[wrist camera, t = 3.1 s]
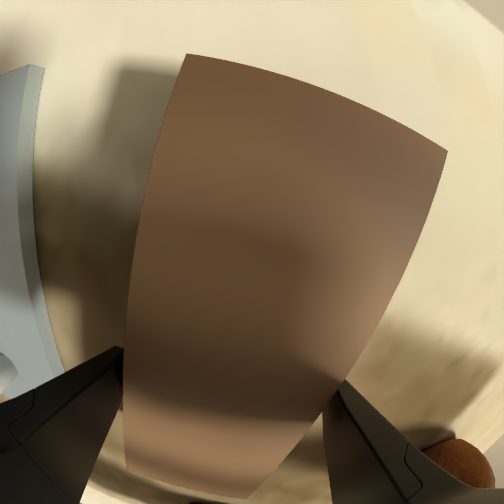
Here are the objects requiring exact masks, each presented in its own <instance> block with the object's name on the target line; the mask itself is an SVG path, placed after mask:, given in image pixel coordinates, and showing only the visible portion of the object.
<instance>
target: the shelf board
mask: <svg viewBox="0 0 504 504" xmlns="http://www.w3.org/2000/svg"><path fill="white" fill-rule="evenodd" d="M447 153H448V151H447V150H446V149H444V148H442V147H441V146H439V145H438V144H436V143H434V142H433V141H431V140H429V139H428V138H426V137H424V136H422V135H421V134H419V133H417V132H415V131H414V130H412V129H410V128H408V127H406V126H405V125H403V124H401V123H399V122H397V121H395V120H393V119H391V118H389V117H387V116H385V115H383V114H381V113H379V112H377V111H375V110H373V109H370V108H368V107H366V106H364V105H362V104H359V103H357V102H355V101H352V100H350V99H348V98H345V97H343V96H341V95H338V94H336V93H333V92H330V91H328V90H325V89H323V88H320V87H317V86H314V85H311V84H309V83H306V82H303V81H300V80H297V79H294V78H291V77H287V76H284V75H281V74H278V73H274V72H271V71H267V70H263V69H260V68H256V67H252V66H248V65H244V64H240V63H235V62H231V61H226V60H221V59H216V58H211V57H205V56H200V55H193V54H186V56H185V59H184V61H183V64H182V67H181V69H180V72H179V75H178V78H177V81H176V83H175V86H174V89H173V92H172V95H171V98H170V101H169V104H168V108H167V111H166V114H165V117H164V121H163V124H162V127H161V131H160V134H159V138H158V142H157V145H156V149H155V153H154V157H153V161H152V165H151V169H150V173H149V177H148V181H147V186H146V190H145V195H144V200H143V205H142V210H141V215H140V220H139V225H138V231H137V237H136V243H135V249H134V256H133V262H132V270H131V277H130V285H129V294H128V304H127V314H126V326H125V341H124V361H123V427H124V446H125V459H126V469H127V470H130V471H132V472H135V473H138V474H141V475H144V476H147V477H150V478H153V479H156V480H159V481H162V482H166V483H169V484H173V485H176V486H180V487H184V488H188V489H192V490H196V491H201V492H206V493H210V494H216V495H221V496H227V497H233V498H240V499H247V498H248V497H249V496H250V495H251V494H252V493H253V492H254V491H255V490H256V489H257V488H258V487H259V486H260V485H261V484H262V483H263V482H264V481H265V480H266V479H267V477H268V476H269V475H270V474H271V473H272V472H273V471H274V470H275V469H276V468H277V467H278V465H279V464H280V463H281V462H282V461H283V460H284V459H285V457H286V456H287V455H288V454H289V453H290V452H291V450H292V449H293V448H294V447H295V446H296V444H297V443H298V442H299V441H300V440H301V438H302V437H303V436H304V435H305V433H306V432H307V431H308V429H309V428H310V427H311V426H312V424H313V423H314V422H315V420H316V419H317V418H318V416H319V415H320V414H321V412H322V411H323V410H324V408H325V407H326V405H327V404H328V403H329V401H330V400H331V398H332V397H333V396H334V394H335V392H336V391H337V390H338V388H339V387H340V385H341V384H342V382H343V381H344V379H345V378H346V376H347V375H348V373H349V372H350V370H351V369H352V367H353V365H354V364H355V362H356V361H357V359H358V357H359V356H360V354H361V352H362V351H363V349H364V347H365V346H366V344H367V342H368V341H369V339H370V337H371V335H372V334H373V332H374V330H375V328H376V327H377V325H378V323H379V321H380V319H381V317H382V316H383V314H384V312H385V310H386V308H387V306H388V304H389V302H390V300H391V298H392V296H393V294H394V292H395V290H396V288H397V286H398V284H399V282H400V280H401V278H402V276H403V273H404V271H405V269H406V267H407V265H408V262H409V260H410V258H411V256H412V253H413V251H414V249H415V246H416V244H417V241H418V239H419V236H420V234H421V231H422V229H423V226H424V224H425V221H426V218H427V216H428V213H429V210H430V207H431V205H432V202H433V199H434V196H435V193H436V190H437V187H438V184H439V180H440V177H441V174H442V171H443V167H444V164H445V160H446V156H447Z"/></svg>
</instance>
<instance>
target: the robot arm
mask: <svg viewBox="0 0 504 504" xmlns="http://www.w3.org/2000/svg"><path fill="white" fill-rule="evenodd" d="M123 361H124V348H122V347H119V346H114V347H112V348H110V349H108V350H106V351H104V352H103V353H101V354H99V355H97V356H95V357H93V358H91V359H89V360H87V361H86V362H84V363H82V364H80V365H78V366H76V367H74V368H72V369H70V370H68V371H66V372H64V373H63V374H61V375H59V376H57V377H55V378H53V379H51V380H49V381H47V382H45V383H43V384H41V385H39V386H37V387H36V388H33V389H31V390H29V391H27V392H25V393H23V394H21V395H19V396H17V397H15V398H12V399H10V400H7V401H5V402H2V403H0V504H79V503H80V500H81V497H82V495H83V492H84V489H85V487H86V484H87V482H88V479H89V477H90V474H91V472H92V469H93V467H94V464H95V462H96V460H97V457H98V455H99V452H100V450H101V448H102V445H103V443H104V441H105V438H106V436H107V434H108V432H109V429H110V427H111V425H112V423H113V420H114V418H115V416H116V413H117V411H118V408H119V405H120V402H121V399H122V396H123ZM322 418H323V440H324V447H325V454H326V460H327V467H328V474H329V481H330V488H331V495H332V502H333V504H504V488H503V489H502V488H501V489H489V488H474V487H471V486H468V485H466V484H464V483H462V482H461V481H459V480H458V479H456V478H455V477H454V476H452V475H451V474H449V473H448V472H447V471H445V470H444V469H442V468H441V467H440V466H438V465H437V464H436V463H434V462H433V461H432V460H430V459H429V458H428V457H427V456H425V455H424V454H423V453H422V452H421V451H420V450H419V449H417V448H416V447H415V446H414V445H413V444H412V443H411V442H410V441H408V439H407V438H406V437H405V436H403V435H402V434H401V433H400V432H399V431H398V430H397V429H396V428H395V427H394V426H393V425H392V424H391V423H390V422H389V421H388V420H387V419H386V418H385V417H384V416H382V415H381V414H380V413H379V412H378V411H377V410H376V409H375V408H374V407H373V406H372V405H371V404H370V403H369V402H368V401H367V400H366V399H365V398H364V397H363V396H362V395H361V394H360V393H359V392H358V391H357V390H356V389H355V388H354V387H353V386H352V385H351V384H350V383H349V382H348V381H347V380H346V379H344V381H343V382H342V384H341V385H340V387H339V388H338V390H337V391H336V392H335V394H334V396H333V397H332V398H331V400H330V401H329V403H328V404H327V405H326V407H325V408H324V410H323V411H322ZM190 504H197V503H190Z"/></svg>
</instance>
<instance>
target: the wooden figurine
mask: <svg viewBox="0 0 504 504" xmlns="http://www.w3.org/2000/svg"><path fill="white" fill-rule="evenodd" d="M422 453H423V454H424V455H425V456H427V457H428V458H429V459H430V460H432V461H433V462H434V463H436V464H437V465H438V466H440V467H441V468H442V469H444V470H445V471H447V472H448V473H449V474H451V475H452V476H454V477H455V478H456V479H458V480H459V481H461V482H462V483H464V484H466V485H468V486H471V487H474V488H489V489H495V477H494V474H493V471H492V468H491V466H490V465H489V463H488V461H487V459H486V457H485V456H484V455H483V454H482V453H481V452H480V451H479V450H478V449H477V448H476V447H474V446H473V445H471V444H470V443H468V442H466V441H465V440H462V439H451V440H447V441H444V442H441V443H439V444H436V445H434V446H432V447H430V448H429V449H427V450H425V451H424V452H422Z"/></svg>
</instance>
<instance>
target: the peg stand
mask: <svg viewBox="0 0 504 504" xmlns="http://www.w3.org/2000/svg"><path fill="white" fill-rule="evenodd" d="M44 69H45V68H41V67H38V66H34V65H27V66H24V67H22V68H19V69H16V70H14V71H11V72H9V73H6V74H4V75H2V76H0V395H1V394H3V395H4V396H6V397H8V398H9V399H12V398H15V397H17V396H19V395H21V394H23V393H25V392H27V391H29V390H31V389H33V388H36V387H37V386H39V385H41V384H43V383H45V382H47V381H49V380H51V379H53V378H55V377H57V376H59V375H61V374H63V373H64V372H65V371H64V368H63V365H62V362H61V359H60V356H59V353H58V350H57V346H56V343H55V339H54V336H53V332H52V328H51V324H50V320H49V316H48V312H47V308H46V303H45V298H44V294H43V288H42V283H41V277H40V271H39V264H38V257H37V249H36V240H35V229H34V215H33V149H34V135H35V125H36V116H37V108H38V101H39V95H40V89H41V84H42V79H43V74H44Z"/></svg>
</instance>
